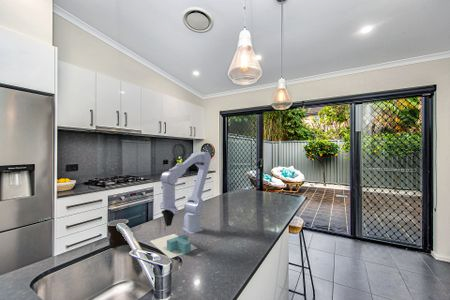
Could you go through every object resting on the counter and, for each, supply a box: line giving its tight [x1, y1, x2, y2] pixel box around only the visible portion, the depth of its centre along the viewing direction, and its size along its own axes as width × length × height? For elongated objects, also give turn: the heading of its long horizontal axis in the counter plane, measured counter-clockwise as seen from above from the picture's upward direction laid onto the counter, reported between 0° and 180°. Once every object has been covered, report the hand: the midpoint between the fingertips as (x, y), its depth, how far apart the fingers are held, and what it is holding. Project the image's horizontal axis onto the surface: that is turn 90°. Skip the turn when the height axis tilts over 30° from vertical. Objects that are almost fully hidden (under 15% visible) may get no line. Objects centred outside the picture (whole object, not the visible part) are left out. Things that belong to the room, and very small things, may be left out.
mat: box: [149, 233, 198, 259], centre depth 89 cm, size 22×13×1 cm, turn 43°
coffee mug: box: [107, 218, 129, 248], centre depth 88 cm, size 12×9×10 cm
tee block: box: [167, 234, 192, 255], centre depth 84 cm, size 9×9×4 cm
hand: (168, 225), depth 92 cm, fingers closed
